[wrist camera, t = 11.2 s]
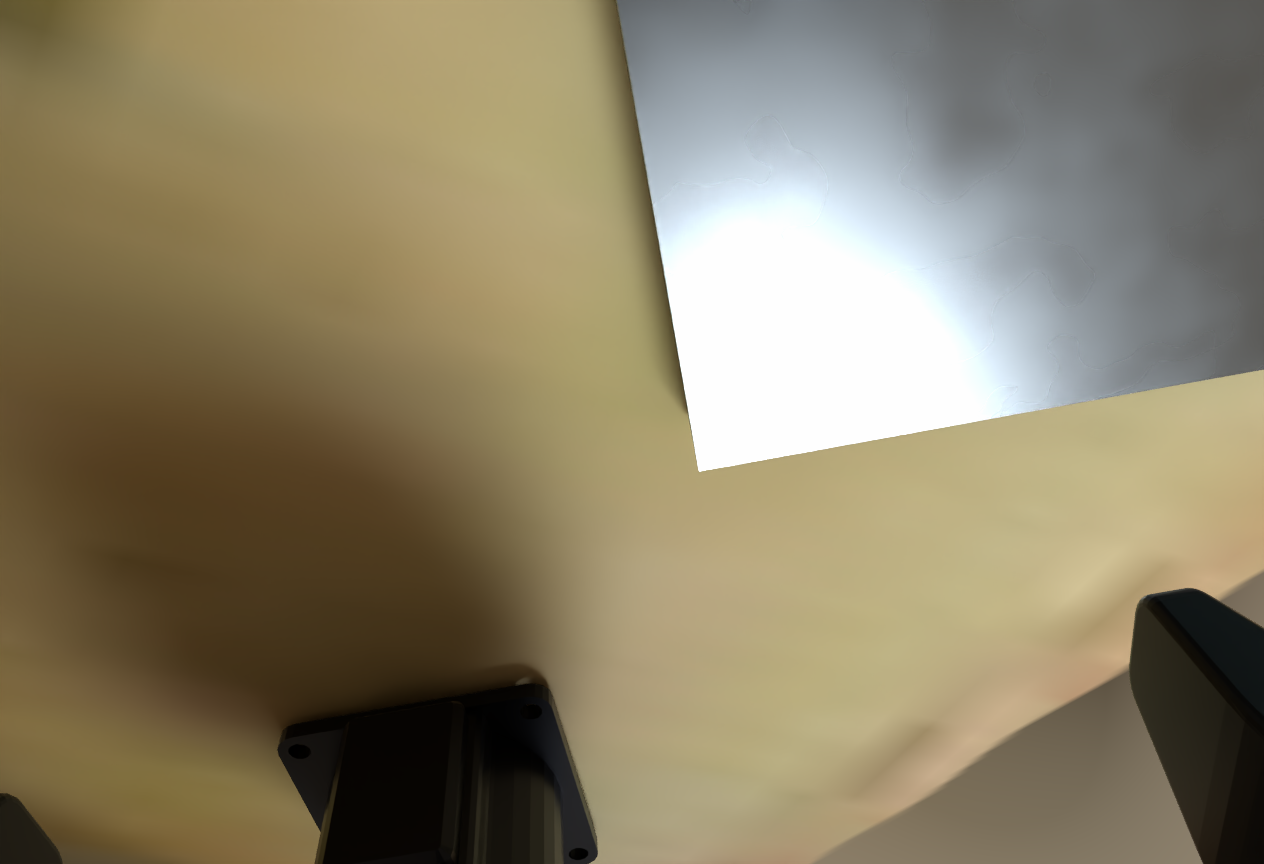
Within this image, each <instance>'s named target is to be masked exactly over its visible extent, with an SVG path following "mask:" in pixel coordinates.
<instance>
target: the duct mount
mask: <svg viewBox="0 0 1264 864" xmlns="http://www.w3.org/2000/svg"><path fill="white" fill-rule="evenodd" d="M616 6H617V12H618V17H619V23H620V29H621V35H622V40H623V46H624V52H625V57H626V63H627V69H628V75H629V80H630V86H631V92H632V97H633V103H634V109H635V114H636V120H637V126H638V132H639V137H640V143H641V149H642V154H643V160H644V166H645V171H646V177H647V183H648V189H649V194H650V200H651V206H652V211H653V217H654V223H655V228H656V234H657V240H658V246H659V251H660V257H661V263H662V268H663V274H664V280H665V286H666V291H667V297H668V303H669V308H670V314H671V320H672V325H673V331H674V337H675V343H676V348H677V354H678V360H679V365H680V371H681V377H682V382H683V388H684V394H685V400H686V405H687V411H688V417H689V422H690V428H691V433H692V438H693V443H694V448H695V453H696V458H697V463H698V468H699V471H704V470H709V469H715V468H721V467H726V466H732V465H737V464H743V463H748V462H754V461H759V460H765V459H770V458H776V457H781V456H787V455H793V454H798V453H804V452H809V451H815V450H820V449H826V448H831V447H837V446H842V445H848V444H853V443H859V442H864V441H870V440H876V439H881V438H887V437H892V436H898V435H903V434H909V433H914V432H920V431H925V430H931V429H936V428H942V427H948V426H953V425H959V424H964V423H970V422H975V421H981V420H986V419H992V418H997V417H1003V416H1008V415H1014V414H1019V413H1025V412H1031V411H1036V410H1042V409H1047V408H1053V407H1058V406H1064V405H1069V404H1075V403H1080V402H1086V401H1091V400H1097V399H1103V398H1108V397H1114V396H1119V395H1125V394H1130V393H1136V392H1141V391H1147V390H1152V389H1158V388H1163V387H1169V386H1174V385H1180V384H1186V383H1191V382H1197V381H1202V380H1208V379H1213V378H1219V377H1224V376H1230V375H1235V374H1241V373H1246V372H1252V371H1258V370H1263V369H1264V0H616Z"/></svg>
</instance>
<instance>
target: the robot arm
mask: <svg viewBox="0 0 1264 864" xmlns="http://www.w3.org/2000/svg"><path fill="white" fill-rule="evenodd" d="M1129 677H1130V684H1131V689H1132V692H1133V696H1134V699H1135V701H1136V704H1137V706H1138V708H1139V711H1140V713H1141V716H1142V718H1143V721H1144V723H1145V725H1146V728H1147V730H1148V733H1149V735H1150V738H1151V740H1152V742H1153V745H1154V747H1155V750H1156V752H1157V754H1158V757H1159V759H1160V762H1161V764H1162V767H1163V769H1164V771H1165V774H1166V776H1167V779H1168V781H1169V783H1170V786H1171V788H1172V791H1173V793H1174V796H1175V798H1176V800H1177V803H1178V805H1179V807H1180V810H1181V812H1182V815H1183V817H1184V819H1185V822H1186V824H1187V827H1188V829H1189V832H1190V834H1191V837H1192V839H1193V841H1194V844H1195V846H1196V849H1197V851H1198V853H1199V856H1200V858H1201V860H1202V862H1203V864H1264V628H1263V627H1262V626H1260V625H1258V624H1256V623H1255V622H1253V621H1252V620H1250V619H1248V618H1247V617H1245V616H1243V615H1242V614H1240V613H1238V612H1237V611H1235V610H1233V609H1232V608H1230V607H1228V606H1227V605H1225V604H1223V603H1222V602H1220V601H1218V600H1217V599H1215V598H1213V597H1212V596H1210V595H1208V594H1207V593H1205V592H1203V591H1200V590H1197V589H1193V588H1185V589H1179V590H1173V591H1167V592H1161V593H1155V594H1150V595H1147V596H1144V597H1143V598H1142V599H1141V600H1140V601H1139V603H1138V604H1137V608H1136V612H1135V620H1134V629H1133V638H1132V646H1131V655H1130V664H1129ZM527 704H535V706H527ZM299 744H302V745H299ZM277 750H278V754H279V757H280V758H281V760H282V762H283V764H284V766H285V768H286V769H287V771H288V773H289V775H290V777H291V779H292V781H293V782H294V784H295V786H296V788H297V790H298V792H299V793H300V795H301V797H302V799H303V801H304V803H305V804H306V806H307V808H308V810H309V812H310V814H311V815H312V817H313V819H314V821H315V823H316V825H317V826H318V828H319V830H320V832H321V834H320V839H319V844H318V849H317V854H316V859H315V864H589V863H591V862H592V861H594V860H595V859H596V857H597V855H598V850H597V836H596V833H595V830H594V827H593V823H592V820H591V817H590V814H589V811H588V807H587V804H586V801H585V798H584V795H583V792H582V788H581V785H580V782H579V779H578V776H577V772H576V769H575V766H574V763H573V760H572V757H571V753H570V750H569V747H568V744H567V741H566V737H565V734H564V731H563V728H562V725H561V722H560V718H559V715H558V712H557V709H556V706H555V702H554V699H553V696H552V694H551V692H550V691H549V689H547V688H546V687H544V686H542V685H538V684H523V685H517V686H511V687H506V688H500V689H494V690H488V691H483V692H477V693H471V694H465V695H460V696H454V697H448V698H442V699H437V700H431V701H425V702H419V703H413V704H408V705H402V706H396V707H390V708H385V709H379V710H373V711H367V712H362V713H356V714H350V715H344V716H339V717H333V718H327V719H321V720H315V721H310V722H304V723H298V724H294V725H291V726H288V727H287V728H285V729H284V730H283V732H282V734H281V737H280V741H279V745H278V749H277ZM0 864H63V863H62V859H61V856H60V853H59V851H58V849H57V848H56V846H55V845H54V844H53V842H52V841H51V840H50V838H49V837H48V836H47V835H46V833H45V832H44V831H43V829H42V828H41V827H40V826H39V824H38V823H37V822H36V820H35V819H34V818H33V817H32V815H31V814H30V813H29V811H28V810H27V809H26V808H25V806H24V805H23V804H22V802H21V801H20V800H19V799H18V798H16V797H14V796H12V795H10V794H8V793H0Z"/></svg>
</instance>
